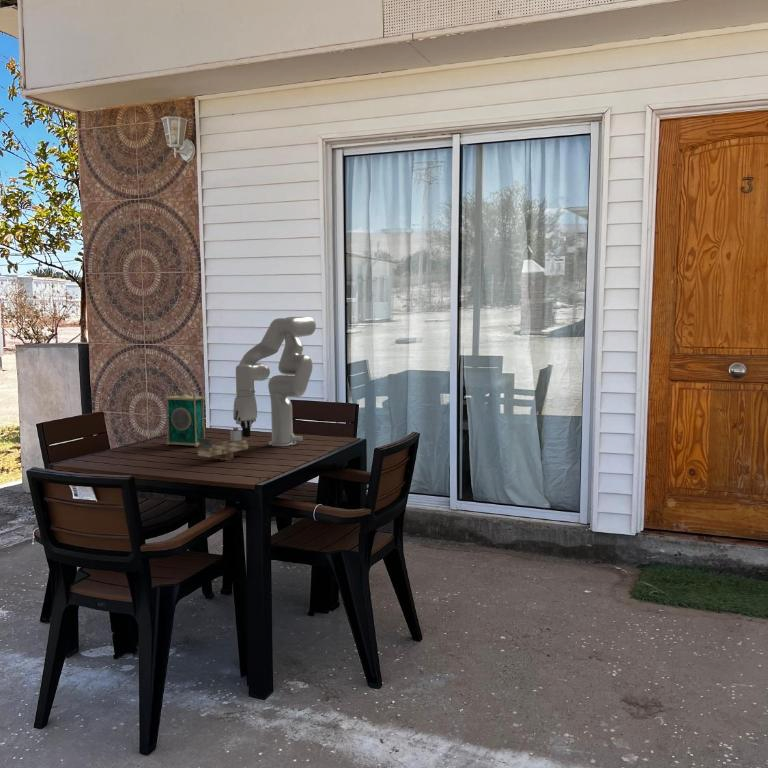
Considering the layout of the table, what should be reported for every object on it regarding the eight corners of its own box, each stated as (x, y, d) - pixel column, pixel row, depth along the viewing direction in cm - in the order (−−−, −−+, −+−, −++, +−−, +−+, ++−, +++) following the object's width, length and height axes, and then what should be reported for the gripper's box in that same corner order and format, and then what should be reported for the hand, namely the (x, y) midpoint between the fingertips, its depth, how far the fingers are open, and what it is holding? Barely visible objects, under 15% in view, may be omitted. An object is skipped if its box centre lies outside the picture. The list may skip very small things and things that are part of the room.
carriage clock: (165, 446, 345) (162, 380, 342) (176, 442, 353) (174, 378, 350) (196, 447, 339) (194, 381, 336) (207, 444, 347) (205, 379, 344)
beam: (237, 454, 323) (236, 430, 322) (249, 455, 319) (248, 432, 318) (197, 462, 305) (196, 438, 304) (209, 464, 301) (208, 439, 300)
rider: (237, 443, 320) (237, 427, 319) (241, 443, 318) (241, 427, 317) (230, 444, 316) (230, 428, 316) (234, 445, 315) (234, 428, 314)
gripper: (251, 391, 329) (252, 433, 330) (226, 394, 316) (227, 438, 318) (264, 392, 324) (265, 435, 326) (238, 395, 312) (239, 439, 314)
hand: (246, 436), depth 322 cm, fingers closed
